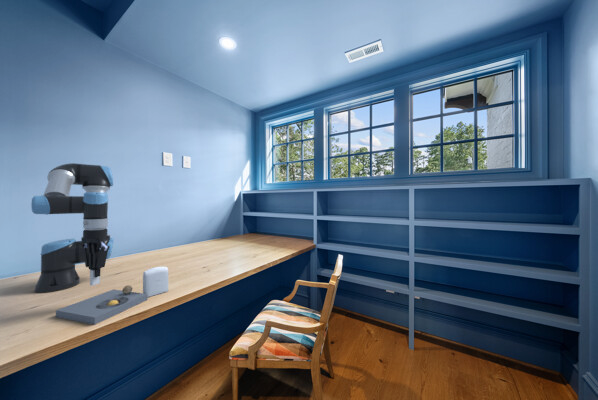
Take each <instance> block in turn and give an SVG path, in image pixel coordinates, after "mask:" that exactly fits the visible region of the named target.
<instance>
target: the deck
mask: <svg viewBox="0 0 598 400" xmlns="http://www.w3.org/2000/svg"><path fill="white" fill-rule="evenodd" d="M122 290H123V289H122ZM122 290H121V289H110V290H108V291H105V292H102V293H100V294H97V295H94V296H92V297H88V298H86V299H83V300H81V301H78V302H75V303H72V304H70V305H67V306H64V307H61V308H59V309H56V310H55V317H56V318H59V319H65V320H69V321H75V322H79V323H83V324H84V323H85V324H90V325H95V326H96V325H97V324H99V323H101V322H103V321H106V320H108V319H110V318H112V317H114V316H116V315H118V314H120V313H123V312H125V311H127V310H129V309H131V308H133V307H135V306H138V305H139V304H141V303H144V302H146V301H148V298H149V297H148V294H143V292H136V291H135V292H134V291H131V292H130V293H129V294H124V293H123V292H122ZM112 300H117V301H118V303H117V304H115V305H110V306H107V304H108V303H109V302H110V301H112Z"/></svg>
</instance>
